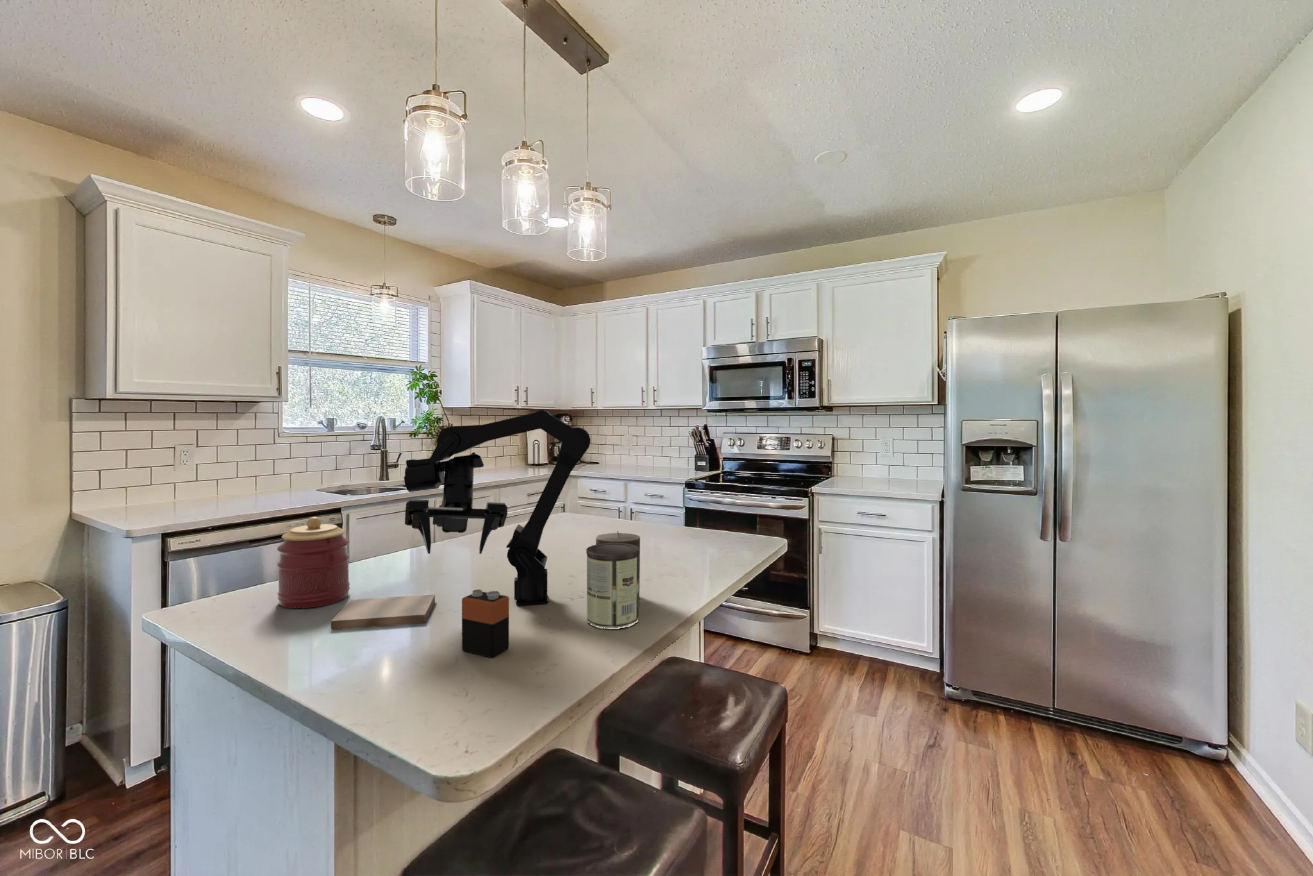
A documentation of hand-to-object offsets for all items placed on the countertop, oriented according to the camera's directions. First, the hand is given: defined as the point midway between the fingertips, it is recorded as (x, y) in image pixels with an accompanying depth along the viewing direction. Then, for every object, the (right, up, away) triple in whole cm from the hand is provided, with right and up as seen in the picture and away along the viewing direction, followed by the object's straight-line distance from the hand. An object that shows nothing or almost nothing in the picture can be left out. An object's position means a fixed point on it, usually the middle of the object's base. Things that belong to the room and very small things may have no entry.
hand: (455, 552), depth 103 cm
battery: (+9, -14, -11) cm, 20 cm away
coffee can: (+30, -14, +3) cm, 33 cm away
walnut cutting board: (-15, -13, +4) cm, 20 cm away
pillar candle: (+30, -14, +15) cm, 36 cm away
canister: (-35, -13, +13) cm, 39 cm away
